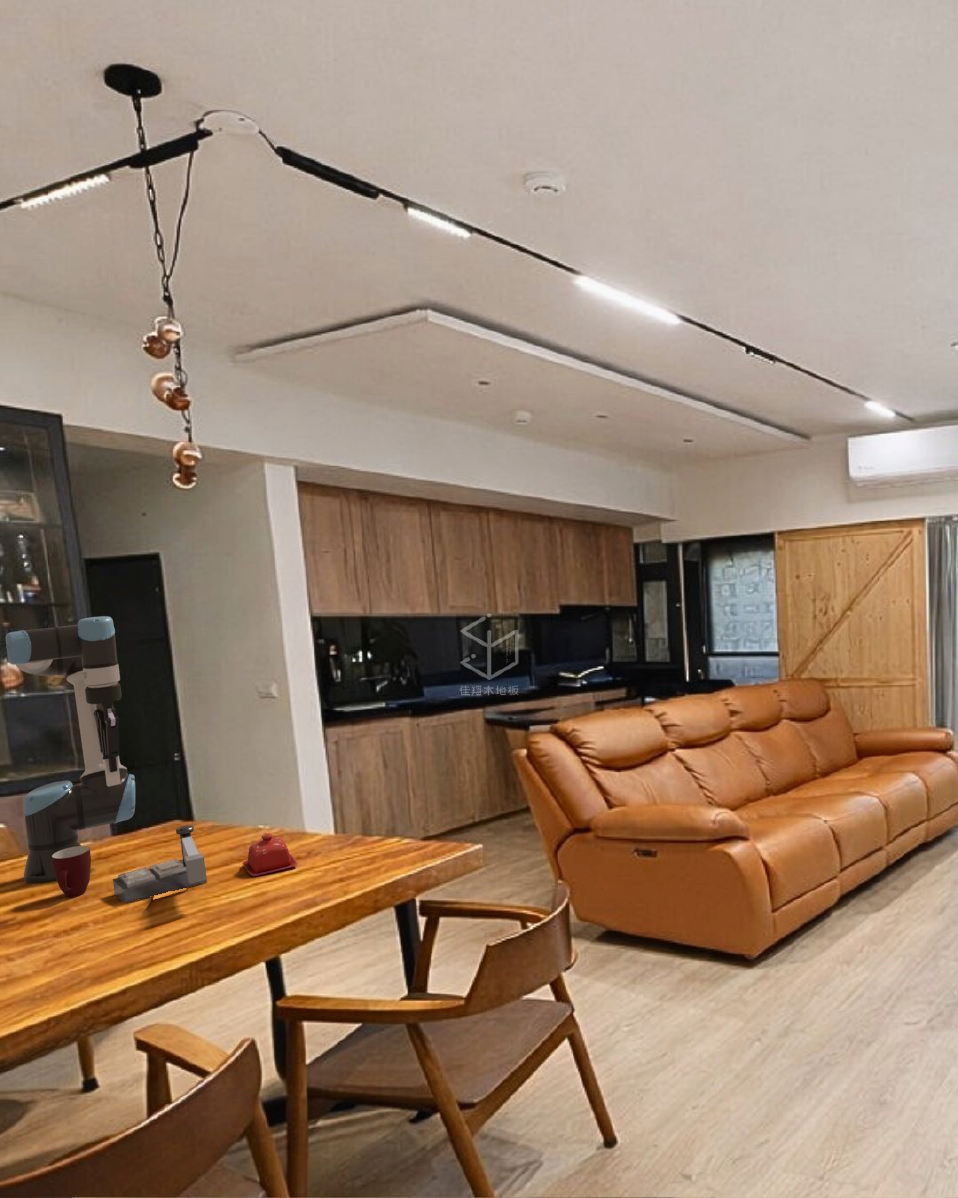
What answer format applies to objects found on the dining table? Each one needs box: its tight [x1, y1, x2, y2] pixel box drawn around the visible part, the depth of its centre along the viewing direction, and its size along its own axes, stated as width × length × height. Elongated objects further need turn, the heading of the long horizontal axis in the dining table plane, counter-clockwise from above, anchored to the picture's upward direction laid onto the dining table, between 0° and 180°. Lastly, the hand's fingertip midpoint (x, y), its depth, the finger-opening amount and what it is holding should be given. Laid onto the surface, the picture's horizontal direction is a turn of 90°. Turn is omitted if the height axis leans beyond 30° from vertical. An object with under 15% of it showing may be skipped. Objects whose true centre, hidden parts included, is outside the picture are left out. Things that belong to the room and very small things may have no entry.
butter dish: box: [242, 832, 299, 877], centre depth 206 cm, size 12×12×8 cm
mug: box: [52, 845, 92, 898], centre depth 198 cm, size 11×8×10 cm
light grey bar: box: [182, 835, 207, 884], centre depth 192 cm, size 17×4×5 cm, turn 25°
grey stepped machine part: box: [112, 825, 208, 904], centre depth 197 cm, size 10×18×12 cm, turn 126°
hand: (113, 784), depth 199 cm, fingers closed
